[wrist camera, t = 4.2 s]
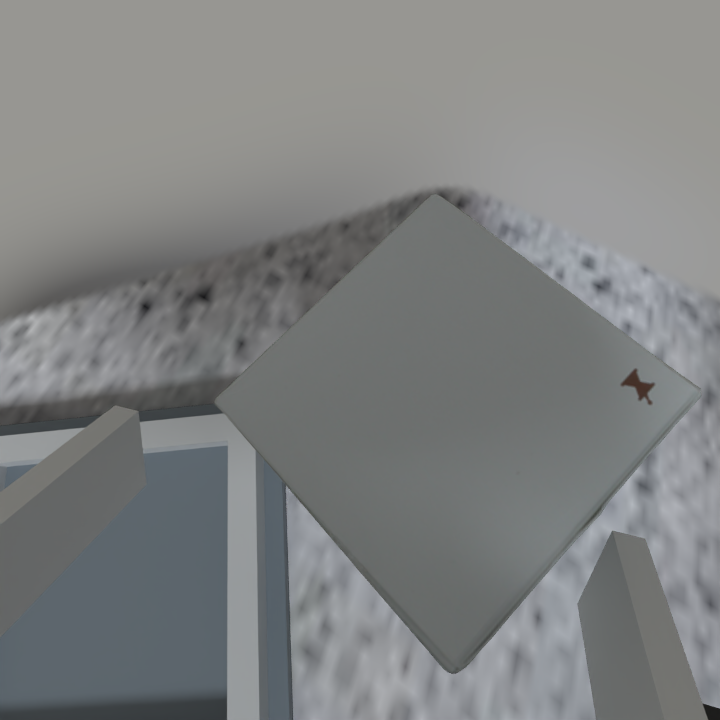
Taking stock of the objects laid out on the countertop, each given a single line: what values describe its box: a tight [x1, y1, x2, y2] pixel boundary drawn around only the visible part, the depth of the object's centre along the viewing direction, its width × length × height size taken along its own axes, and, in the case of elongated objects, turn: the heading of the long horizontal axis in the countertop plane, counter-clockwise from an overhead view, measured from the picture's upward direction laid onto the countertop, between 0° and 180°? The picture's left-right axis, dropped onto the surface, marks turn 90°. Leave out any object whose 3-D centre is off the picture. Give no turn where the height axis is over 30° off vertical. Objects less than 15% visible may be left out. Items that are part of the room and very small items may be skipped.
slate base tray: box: [0, 404, 293, 720], centre depth 21 cm, size 15×15×2 cm
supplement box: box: [214, 194, 701, 674], centre depth 16 cm, size 7×7×13 cm
